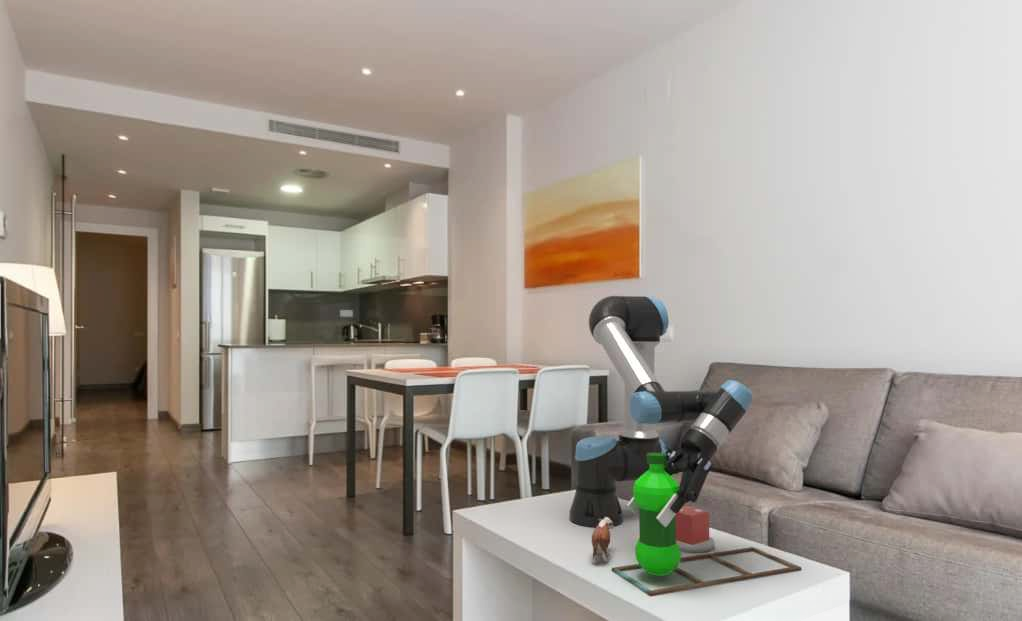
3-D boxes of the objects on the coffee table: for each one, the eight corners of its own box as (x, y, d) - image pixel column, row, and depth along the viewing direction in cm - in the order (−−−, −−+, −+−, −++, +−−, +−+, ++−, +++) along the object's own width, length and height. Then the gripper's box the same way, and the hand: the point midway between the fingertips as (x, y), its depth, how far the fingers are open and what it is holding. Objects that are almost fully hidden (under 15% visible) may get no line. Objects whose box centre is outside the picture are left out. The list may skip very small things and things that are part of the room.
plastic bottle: (634, 578, 129) (633, 457, 131) (633, 561, 140) (632, 449, 141) (684, 581, 128) (682, 459, 129) (679, 564, 138) (677, 450, 139)
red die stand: (654, 543, 157) (654, 508, 158) (684, 534, 164) (684, 501, 165) (694, 556, 148) (693, 519, 148) (724, 546, 155) (723, 511, 155)
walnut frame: (611, 570, 138) (611, 567, 138) (752, 549, 153) (752, 546, 153) (650, 596, 124) (650, 593, 124) (801, 570, 139) (801, 567, 139)
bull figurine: (616, 549, 153) (616, 515, 153) (606, 568, 140) (606, 531, 140) (598, 547, 154) (598, 514, 154) (587, 565, 141) (587, 529, 142)
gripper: (750, 458, 130) (689, 542, 124) (682, 442, 151) (627, 513, 145) (729, 434, 128) (667, 518, 122) (663, 421, 150) (607, 492, 143)
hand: (645, 515), depth 133 cm, fingers closed on plastic bottle, 10 cm apart
